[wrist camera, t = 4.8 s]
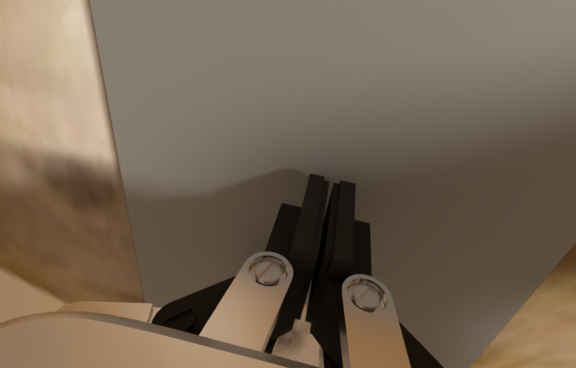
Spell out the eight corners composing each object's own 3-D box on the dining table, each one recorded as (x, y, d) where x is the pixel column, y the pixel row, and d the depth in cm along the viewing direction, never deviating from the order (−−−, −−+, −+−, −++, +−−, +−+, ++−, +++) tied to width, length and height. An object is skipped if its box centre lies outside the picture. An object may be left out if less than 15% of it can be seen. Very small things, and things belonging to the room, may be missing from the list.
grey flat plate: (746, -34, 9) (811, -34, 7) (419, 396, 22) (423, 421, 21) (100, -125, 10) (64, -138, 9) (164, 328, 23) (152, 348, 22)
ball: (305, 449, 11) (291, 386, 16) (375, 310, 12) (341, 291, 17) (175, 369, 11) (202, 330, 16) (255, 237, 12) (256, 239, 17)
